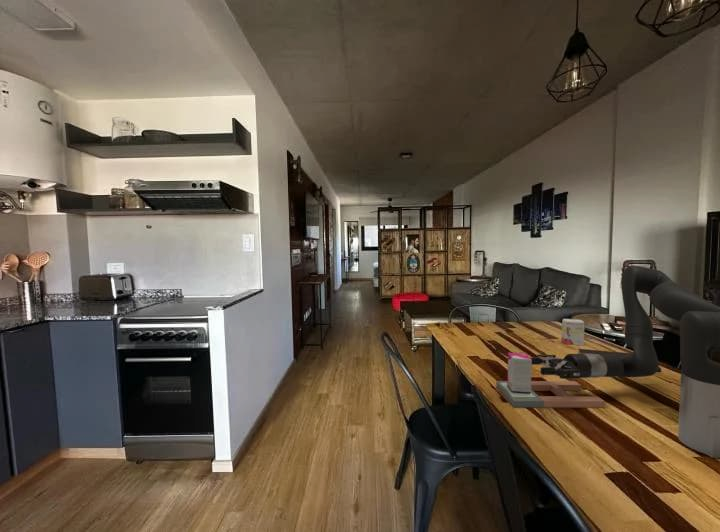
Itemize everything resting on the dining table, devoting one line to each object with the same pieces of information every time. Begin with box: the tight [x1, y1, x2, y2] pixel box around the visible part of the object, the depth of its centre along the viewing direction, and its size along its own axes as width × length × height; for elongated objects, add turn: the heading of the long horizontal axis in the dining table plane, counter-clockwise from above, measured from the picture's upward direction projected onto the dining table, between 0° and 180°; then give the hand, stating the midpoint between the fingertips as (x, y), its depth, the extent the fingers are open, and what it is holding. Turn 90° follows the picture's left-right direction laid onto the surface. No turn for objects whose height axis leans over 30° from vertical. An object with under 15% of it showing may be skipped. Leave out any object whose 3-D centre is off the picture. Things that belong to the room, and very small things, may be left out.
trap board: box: [496, 380, 606, 409], centre depth 103 cm, size 14×27×2 cm, turn 87°
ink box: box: [561, 318, 585, 347], centre depth 154 cm, size 9×5×12 cm, turn 67°
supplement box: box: [506, 352, 533, 394], centre depth 103 cm, size 6×6×12 cm
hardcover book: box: [578, 348, 662, 373], centre depth 131 cm, size 16×23×2 cm
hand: (534, 365), depth 102 cm, fingers open, 8 cm apart
